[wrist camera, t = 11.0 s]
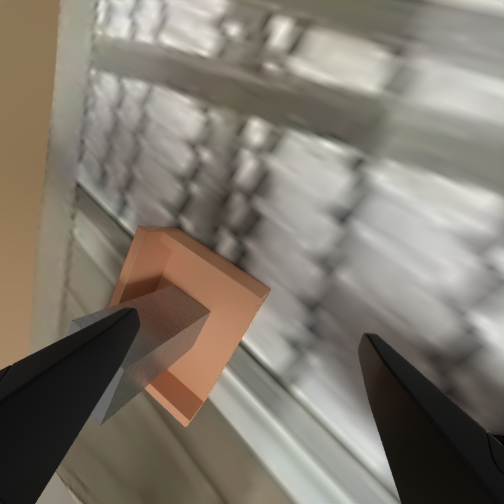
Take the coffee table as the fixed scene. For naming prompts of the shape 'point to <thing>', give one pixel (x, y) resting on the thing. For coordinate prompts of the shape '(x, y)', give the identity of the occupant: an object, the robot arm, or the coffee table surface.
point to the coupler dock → (205, 292)
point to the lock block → (149, 342)
